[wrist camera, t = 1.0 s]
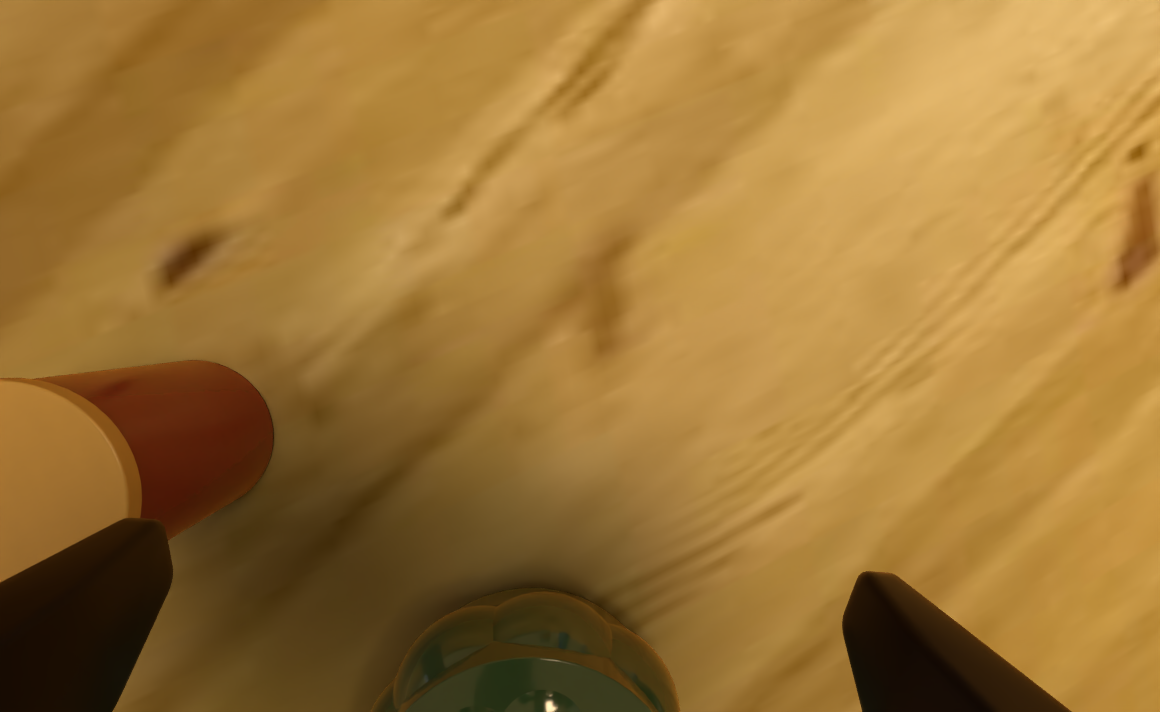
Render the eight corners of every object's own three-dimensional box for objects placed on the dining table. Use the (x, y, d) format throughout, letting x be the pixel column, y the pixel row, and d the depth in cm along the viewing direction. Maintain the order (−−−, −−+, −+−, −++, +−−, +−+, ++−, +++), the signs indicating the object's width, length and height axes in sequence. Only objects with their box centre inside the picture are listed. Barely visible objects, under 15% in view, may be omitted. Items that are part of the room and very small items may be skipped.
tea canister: (180, 542, 25) (-24, 670, 16) (83, 416, 24) (-184, 473, 15) (308, 453, 25) (178, 529, 16) (214, 326, 24) (25, 331, 15)
